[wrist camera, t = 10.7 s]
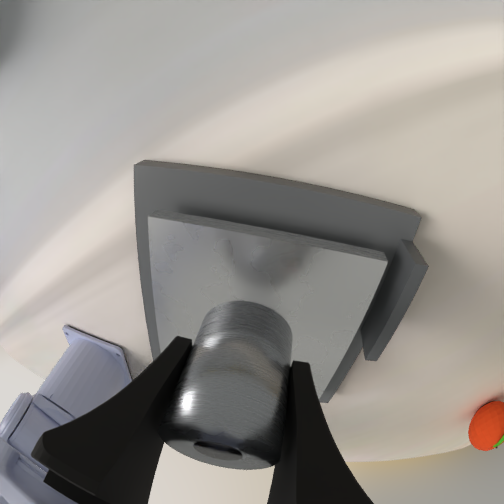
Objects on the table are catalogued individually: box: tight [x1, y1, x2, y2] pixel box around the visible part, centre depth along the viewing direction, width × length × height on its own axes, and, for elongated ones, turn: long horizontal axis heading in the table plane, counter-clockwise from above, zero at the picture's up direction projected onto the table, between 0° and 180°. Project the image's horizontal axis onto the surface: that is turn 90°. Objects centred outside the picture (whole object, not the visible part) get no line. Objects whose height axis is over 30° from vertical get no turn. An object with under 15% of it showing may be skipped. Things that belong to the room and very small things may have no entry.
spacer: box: [158, 301, 293, 470], centre depth 10 cm, size 4×4×6 cm
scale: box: [134, 160, 429, 403], centre depth 18 cm, size 18×16×4 cm
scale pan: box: [148, 209, 388, 399], centre depth 17 cm, size 14×12×2 cm
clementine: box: [468, 401, 504, 451], centre depth 20 cm, size 8×7×7 cm
